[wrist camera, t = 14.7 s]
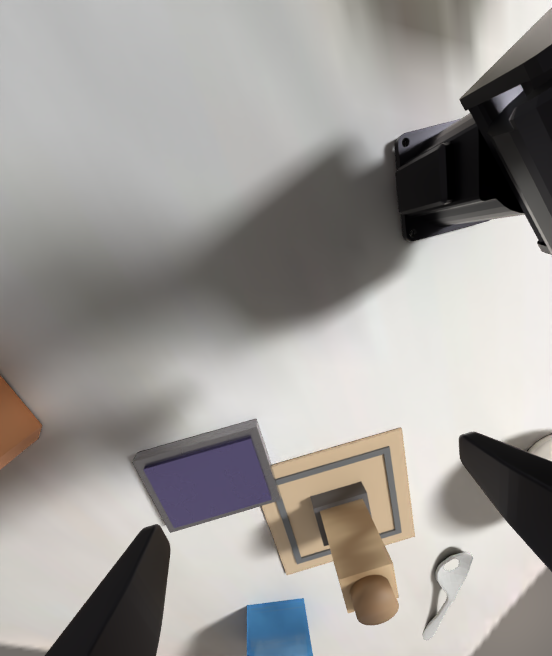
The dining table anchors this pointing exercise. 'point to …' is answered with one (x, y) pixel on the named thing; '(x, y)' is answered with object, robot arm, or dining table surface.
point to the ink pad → (209, 475)
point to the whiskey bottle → (15, 425)
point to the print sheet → (331, 473)
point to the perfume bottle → (278, 629)
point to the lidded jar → (543, 448)
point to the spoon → (449, 587)
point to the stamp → (357, 553)
